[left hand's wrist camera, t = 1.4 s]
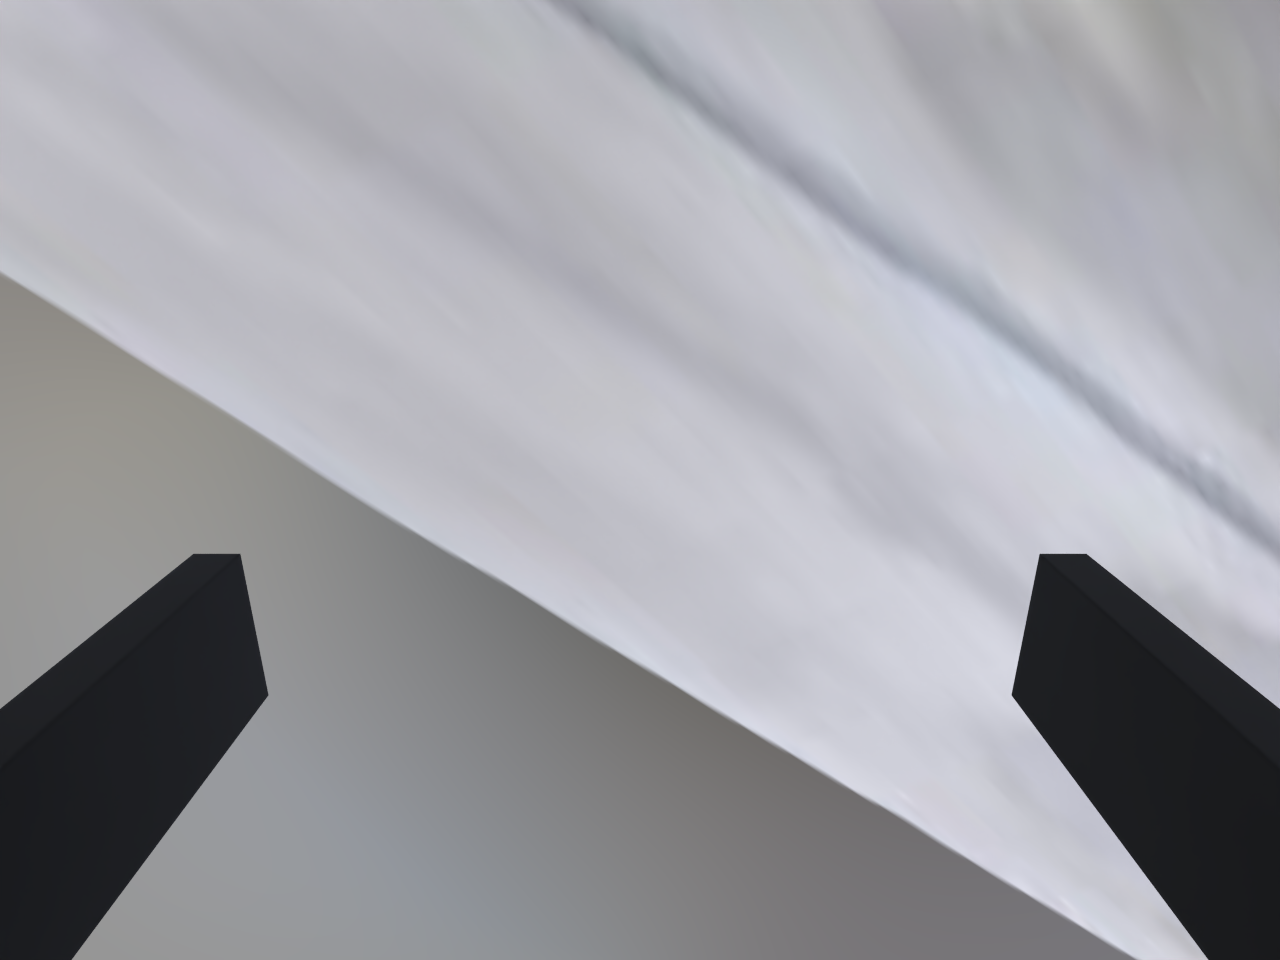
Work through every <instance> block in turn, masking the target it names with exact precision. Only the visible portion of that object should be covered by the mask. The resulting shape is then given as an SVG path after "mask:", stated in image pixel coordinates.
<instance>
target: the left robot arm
mask: <svg viewBox="0 0 1280 960" xmlns="http://www.w3.org/2000/svg"><path fill="white" fill-rule="evenodd" d="M267 696H268V691H267V686H266V681H265V676H264V671H263V666H262V661H261V656H260V651H259V646H258V641H257V636H256V631H255V626H254V621H253V616H252V611H251V606H250V601H249V595H248V590H247V585H246V580H245V576H244V570H243V565H242V560H241V555H240V554H193V555H192V556H190V557H189V558H188V559H187V560H185V561H184V562H183V563H182V564H180V565H179V566H178V567H177V568H175V569H174V570H173V571H172V572H170V573H169V574H168V575H167V576H165V577H164V578H163V579H162V580H160V581H159V582H158V583H157V584H156V585H154V586H153V587H152V588H151V589H149V590H148V591H147V592H146V593H144V594H143V595H142V596H141V597H139V598H138V599H137V600H136V601H134V602H133V603H132V604H131V605H129V606H128V607H127V608H126V609H124V610H123V611H122V612H121V613H119V614H118V615H117V616H116V617H114V618H113V619H112V620H111V621H109V622H108V623H107V624H106V625H104V626H103V627H102V628H101V629H99V630H98V631H97V632H96V633H94V634H93V635H92V636H91V637H89V638H88V639H87V640H86V641H84V642H83V643H82V644H81V645H80V646H78V647H77V648H76V649H74V650H73V651H72V652H71V653H69V654H68V655H67V656H66V657H64V658H63V659H62V660H61V661H59V662H58V663H57V664H56V665H55V666H53V667H52V668H51V669H50V670H48V671H47V672H46V673H45V674H43V675H42V676H41V677H40V678H38V679H37V680H36V681H35V682H33V683H32V684H31V685H30V686H28V687H27V688H26V689H25V690H23V691H22V692H21V693H20V694H18V695H17V696H16V697H15V698H13V699H12V700H11V701H10V702H8V703H7V704H6V705H5V706H3V707H2V708H1V709H0V960H72V958H73V957H74V956H75V954H76V953H77V952H78V950H79V949H80V948H81V946H82V945H83V943H84V942H85V941H86V940H87V938H88V937H89V936H90V934H91V933H92V931H93V930H94V929H95V927H96V926H97V925H98V923H99V922H100V921H101V919H102V918H103V917H104V915H105V914H106V913H107V911H108V910H109V909H110V907H111V906H112V905H113V903H114V902H115V901H116V899H117V898H118V896H119V895H120V894H121V893H122V891H123V890H124V888H125V887H126V886H127V884H128V883H129V882H130V880H131V879H132V878H133V876H134V875H135V874H136V872H137V871H138V870H139V868H140V867H141V866H142V864H143V863H144V862H145V860H146V859H147V858H148V856H149V855H150V854H151V852H152V851H153V850H154V848H155V847H156V845H157V844H158V843H159V841H160V840H161V839H162V837H163V836H164V835H165V833H166V832H167V831H168V829H169V828H170V827H171V825H172V824H173V823H174V821H175V820H176V819H177V817H178V816H179V815H180V813H181V812H182V810H183V809H184V808H185V807H186V805H187V804H188V802H189V801H190V800H191V798H192V797H193V796H194V794H195V793H196V792H197V790H198V789H199V788H200V786H201V785H202V784H203V782H204V781H205V780H206V778H207V777H208V776H209V774H210V773H211V772H212V770H213V769H214V768H215V766H216V765H217V764H218V762H219V761H220V759H221V758H222V757H223V755H224V754H225V753H226V751H227V750H228V749H229V747H230V746H231V745H232V743H233V742H234V741H235V739H236V738H237V737H238V735H239V734H240V732H241V731H242V730H243V729H244V727H245V726H246V724H247V723H248V722H249V721H250V719H251V718H252V716H253V715H254V714H255V712H256V711H257V710H258V708H259V707H260V706H261V704H262V703H263V702H264V700H265V699H266V698H267ZM1012 696H1013V698H1014V699H1015V700H1016V702H1017V703H1018V704H1019V706H1020V707H1021V708H1022V710H1023V711H1024V712H1025V714H1026V715H1027V717H1028V718H1029V719H1030V721H1031V722H1032V723H1033V725H1034V726H1035V727H1036V729H1037V730H1038V731H1039V733H1040V734H1041V735H1042V737H1043V738H1044V739H1045V741H1046V742H1047V743H1048V745H1049V746H1050V747H1051V749H1052V750H1053V751H1054V753H1055V754H1056V755H1057V757H1058V758H1059V759H1060V761H1061V762H1062V764H1063V765H1064V766H1065V768H1066V769H1067V770H1068V772H1069V773H1070V774H1071V776H1072V777H1073V778H1074V780H1075V781H1076V782H1077V784H1078V785H1079V786H1080V788H1081V789H1082V790H1083V792H1084V793H1085V794H1086V796H1087V797H1088V798H1089V800H1090V801H1091V802H1092V804H1093V805H1094V807H1095V808H1096V809H1097V811H1098V812H1099V813H1100V815H1101V816H1102V817H1103V819H1104V820H1105V821H1106V823H1107V824H1108V825H1109V827H1110V828H1111V829H1112V831H1113V832H1114V833H1115V835H1116V836H1117V837H1118V839H1119V840H1120V841H1121V843H1122V844H1123V845H1124V847H1125V848H1126V850H1127V851H1128V852H1129V854H1130V855H1131V856H1132V858H1133V859H1134V860H1135V862H1136V863H1137V864H1138V866H1139V867H1140V868H1141V870H1142V871H1143V872H1144V874H1145V875H1146V876H1147V878H1148V879H1149V880H1150V882H1151V883H1152V884H1153V886H1154V887H1155V888H1156V890H1157V891H1158V893H1159V894H1160V895H1161V897H1162V898H1163V899H1164V901H1165V902H1166V903H1167V905H1168V906H1169V907H1170V909H1171V910H1172V911H1173V913H1174V914H1175V915H1176V917H1177V918H1178V919H1179V921H1180V922H1181V923H1182V925H1183V926H1184V927H1185V929H1186V930H1187V931H1188V933H1189V934H1190V936H1191V937H1192V938H1193V940H1194V941H1195V942H1196V944H1197V945H1198V946H1199V948H1200V949H1201V950H1202V952H1203V953H1204V954H1205V956H1206V957H1207V958H1208V960H1280V709H1279V708H1278V707H1277V706H1275V705H1274V704H1273V703H1272V702H1270V701H1269V700H1268V699H1267V698H1265V697H1264V696H1263V695H1262V694H1260V693H1259V692H1258V691H1257V690H1255V689H1254V688H1253V687H1252V686H1250V685H1249V684H1248V683H1247V682H1245V681H1244V680H1243V679H1242V678H1240V677H1239V676H1238V675H1237V674H1235V673H1234V672H1233V671H1232V670H1230V669H1229V668H1228V667H1227V666H1225V665H1224V664H1223V663H1222V662H1221V661H1219V660H1218V659H1217V658H1216V657H1214V656H1213V655H1212V654H1211V653H1209V652H1208V651H1207V650H1206V649H1204V648H1203V647H1202V646H1201V645H1199V644H1198V643H1197V642H1196V641H1194V640H1193V639H1192V638H1191V637H1189V636H1188V635H1187V634H1186V633H1184V632H1183V631H1182V630H1181V629H1179V628H1178V627H1177V626H1176V625H1174V624H1173V623H1172V622H1171V621H1169V620H1168V619H1167V618H1166V617H1164V616H1163V615H1162V614H1161V613H1159V612H1158V611H1157V610H1156V609H1154V608H1153V607H1152V606H1151V605H1149V604H1148V603H1147V602H1146V601H1144V600H1143V599H1142V598H1141V597H1139V596H1138V595H1137V594H1136V593H1134V592H1133V591H1132V590H1131V589H1130V588H1128V587H1127V586H1126V585H1125V584H1123V583H1122V582H1121V581H1120V580H1118V579H1117V578H1116V577H1115V576H1113V575H1112V574H1111V573H1110V572H1108V571H1107V570H1106V569H1105V568H1103V567H1102V566H1101V565H1100V564H1098V563H1097V562H1096V561H1095V560H1093V559H1092V558H1091V557H1090V556H1088V555H1087V554H1040V555H1039V560H1038V565H1037V570H1036V575H1035V580H1034V585H1033V590H1032V595H1031V600H1030V605H1029V610H1028V616H1027V621H1026V626H1025V631H1024V636H1023V641H1022V646H1021V651H1020V656H1019V661H1018V666H1017V671H1016V676H1015V681H1014V686H1013V691H1012Z"/></svg>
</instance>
